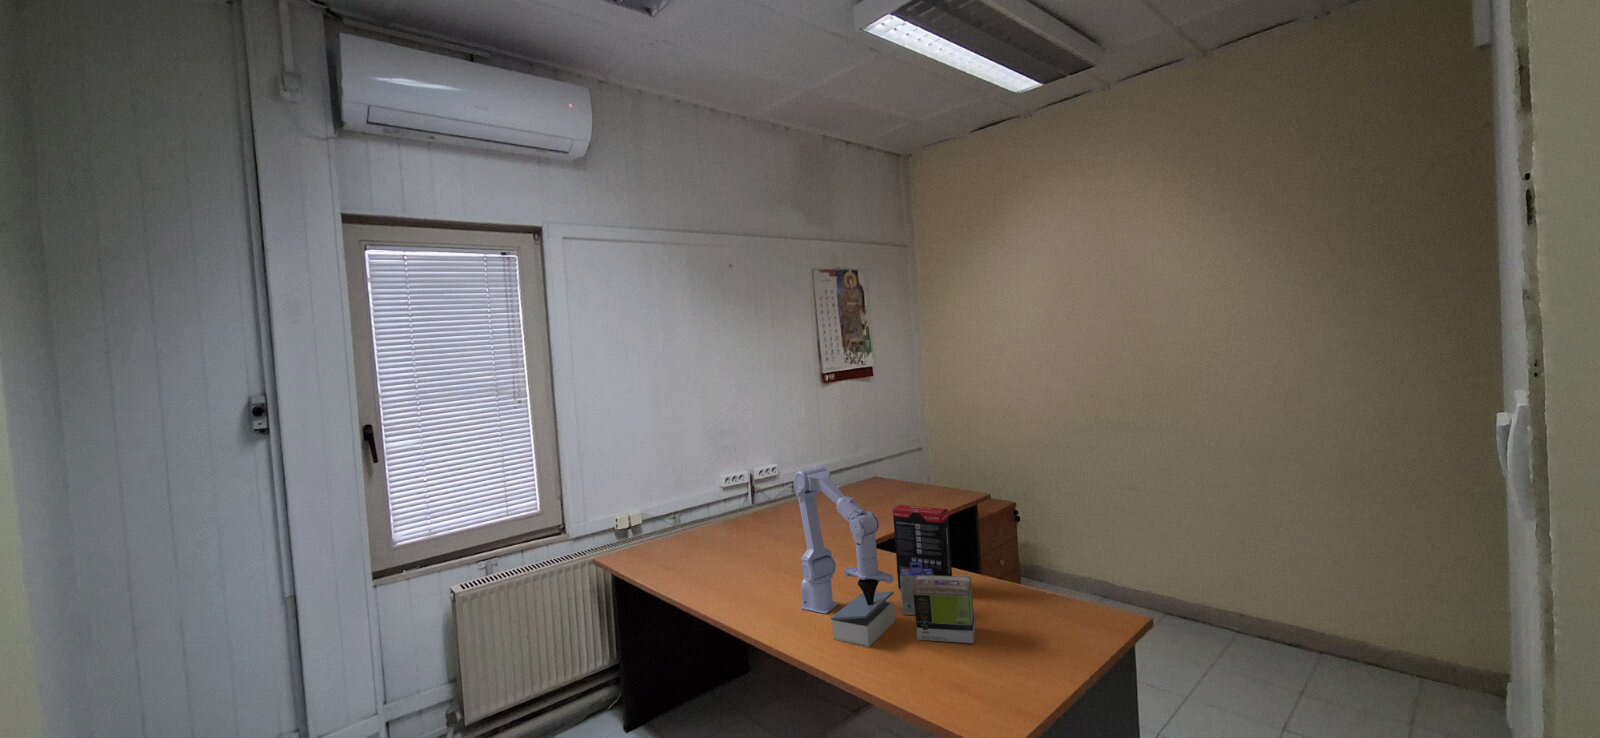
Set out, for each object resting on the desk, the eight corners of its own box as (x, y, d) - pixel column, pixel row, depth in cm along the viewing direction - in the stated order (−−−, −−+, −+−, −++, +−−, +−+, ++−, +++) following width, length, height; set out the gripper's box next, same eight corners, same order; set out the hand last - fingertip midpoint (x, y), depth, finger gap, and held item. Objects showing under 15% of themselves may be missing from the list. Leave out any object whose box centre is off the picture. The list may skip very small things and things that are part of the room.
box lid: (831, 620, 167) (830, 616, 167) (860, 596, 182) (860, 593, 182) (866, 618, 161) (865, 614, 161) (893, 593, 175) (892, 590, 175)
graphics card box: (955, 590, 193) (948, 506, 192) (948, 598, 187) (941, 512, 187) (905, 583, 202) (899, 503, 202) (897, 591, 197) (890, 508, 196)
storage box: (833, 639, 168) (831, 619, 167) (862, 614, 182) (860, 596, 181) (868, 647, 161) (866, 627, 161) (895, 620, 176) (893, 602, 175)
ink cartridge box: (936, 607, 182) (932, 560, 182) (936, 615, 177) (932, 567, 176) (903, 607, 184) (899, 560, 184) (902, 615, 179) (898, 567, 178)
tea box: (975, 627, 168) (971, 575, 167) (973, 645, 158) (969, 590, 158) (921, 623, 173) (917, 573, 172) (916, 640, 163) (912, 587, 163)
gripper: (837, 558, 170) (841, 605, 171) (883, 564, 162) (887, 614, 163) (849, 550, 176) (853, 595, 177) (894, 556, 168) (898, 604, 168)
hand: (870, 604), depth 170 cm, fingers closed, pressing on box lid
